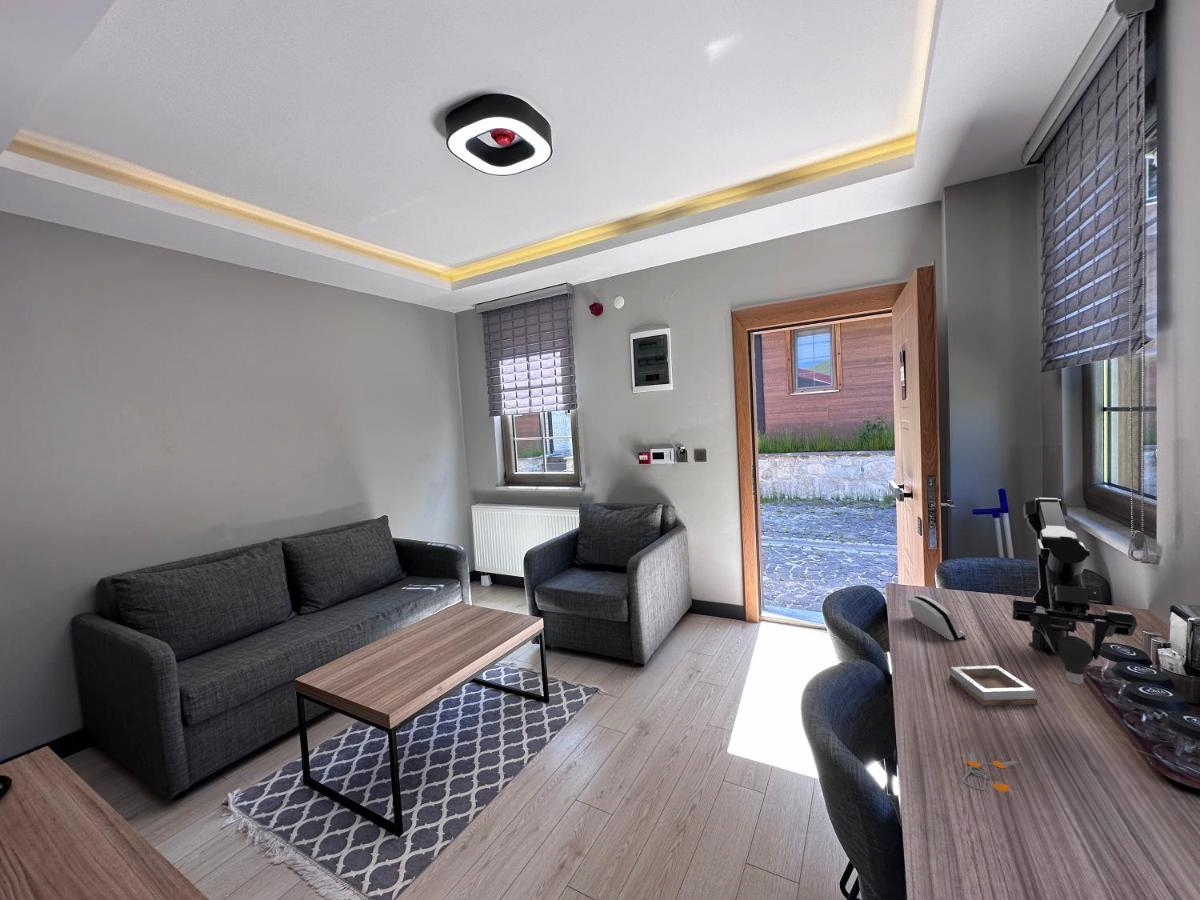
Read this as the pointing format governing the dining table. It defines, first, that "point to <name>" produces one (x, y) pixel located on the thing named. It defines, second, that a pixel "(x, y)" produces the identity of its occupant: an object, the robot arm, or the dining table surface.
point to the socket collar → (1014, 693)
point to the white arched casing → (935, 616)
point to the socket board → (992, 683)
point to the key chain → (977, 765)
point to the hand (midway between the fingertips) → (1075, 655)
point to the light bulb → (1074, 657)
